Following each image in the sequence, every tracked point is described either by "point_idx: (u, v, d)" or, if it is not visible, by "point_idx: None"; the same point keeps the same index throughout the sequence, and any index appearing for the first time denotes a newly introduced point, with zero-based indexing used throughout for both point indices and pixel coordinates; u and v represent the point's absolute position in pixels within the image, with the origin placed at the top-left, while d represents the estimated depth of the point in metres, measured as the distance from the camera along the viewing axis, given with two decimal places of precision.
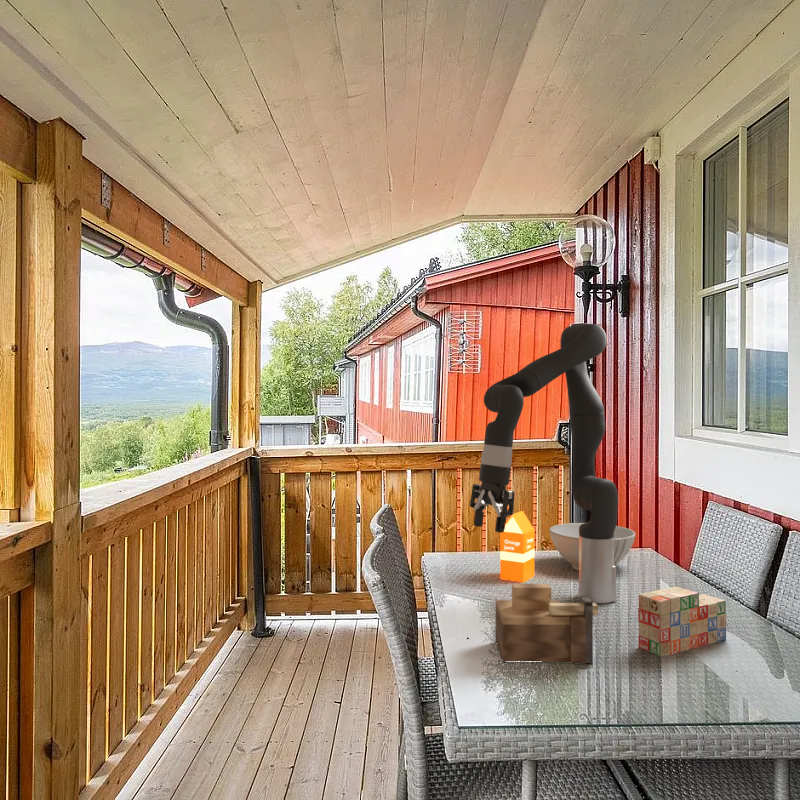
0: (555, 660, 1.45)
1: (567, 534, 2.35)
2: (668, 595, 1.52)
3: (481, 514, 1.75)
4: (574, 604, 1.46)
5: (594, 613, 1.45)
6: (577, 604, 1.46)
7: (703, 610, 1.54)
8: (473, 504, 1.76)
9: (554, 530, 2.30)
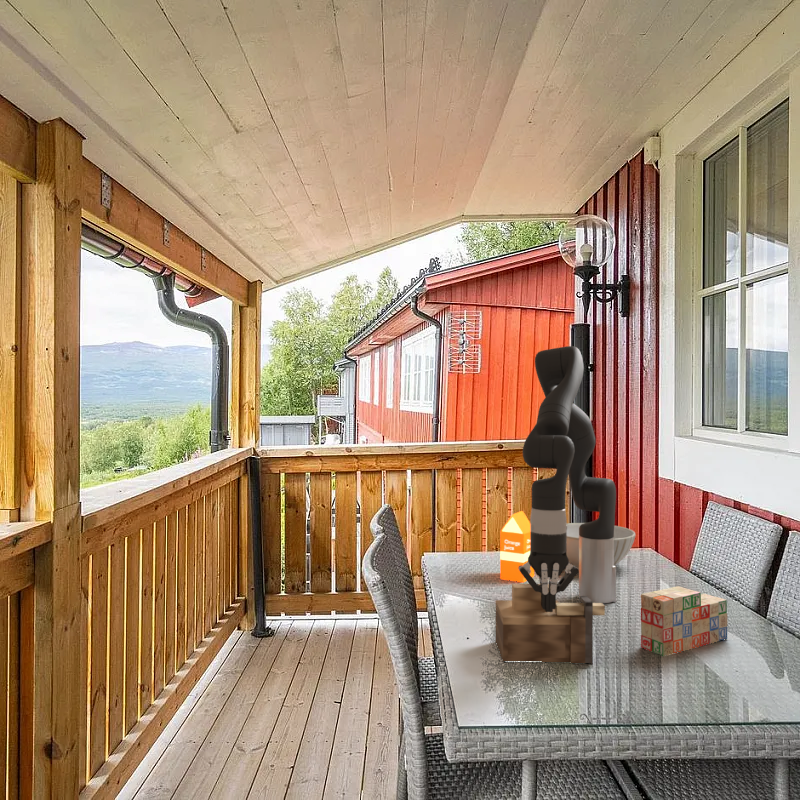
0: (555, 660, 1.45)
1: (567, 534, 2.35)
2: (670, 595, 1.52)
3: None
4: (581, 604, 1.46)
5: (601, 613, 1.45)
6: (583, 604, 1.46)
7: (705, 609, 1.55)
8: (539, 587, 1.45)
9: None
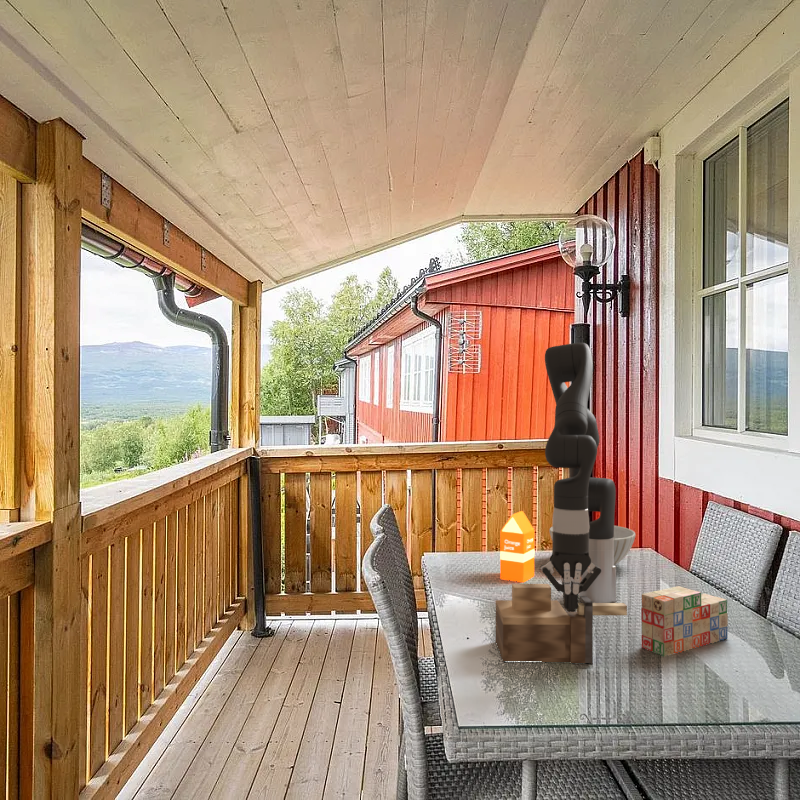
0: (555, 660, 1.45)
1: None
2: (671, 595, 1.52)
3: None
4: (603, 604, 1.46)
5: (623, 613, 1.45)
6: (605, 604, 1.46)
7: (705, 609, 1.55)
8: (561, 587, 1.45)
9: None
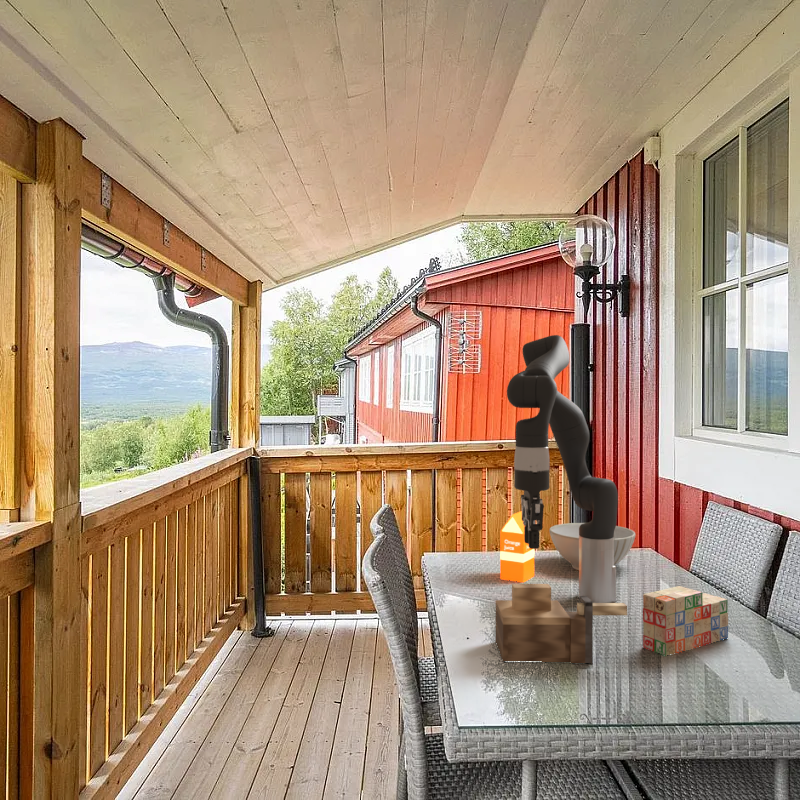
0: (555, 660, 1.45)
1: (567, 534, 2.35)
2: (672, 595, 1.52)
3: None
4: (603, 604, 1.46)
5: (623, 613, 1.45)
6: (605, 604, 1.46)
7: (706, 609, 1.55)
8: None
9: (554, 530, 2.30)
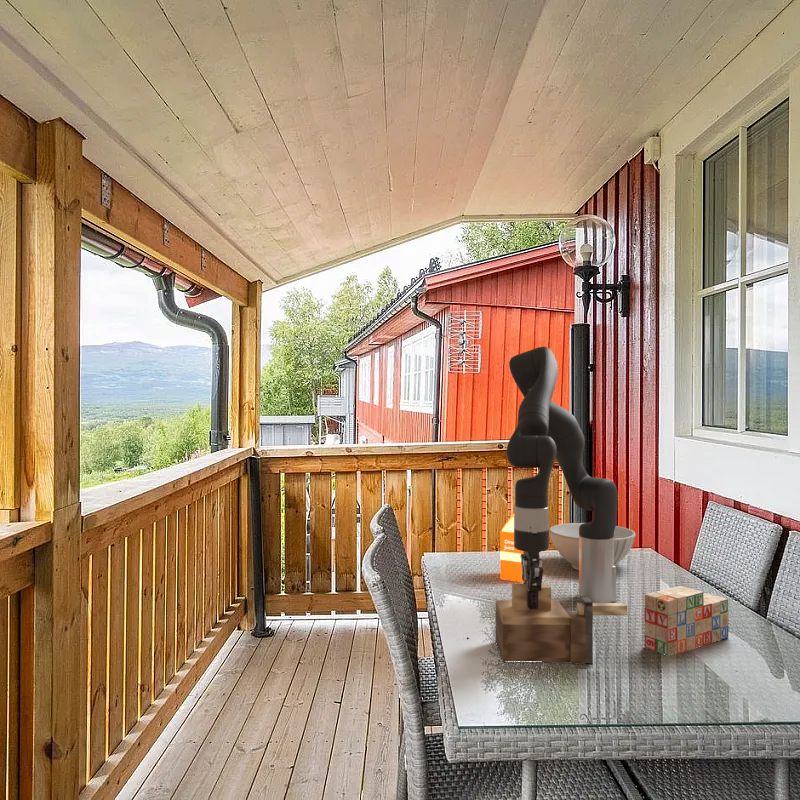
0: (555, 660, 1.45)
1: (567, 534, 2.35)
2: (674, 594, 1.52)
3: None
4: (603, 604, 1.46)
5: (623, 613, 1.45)
6: (605, 604, 1.46)
7: (707, 609, 1.55)
8: None
9: (554, 530, 2.30)
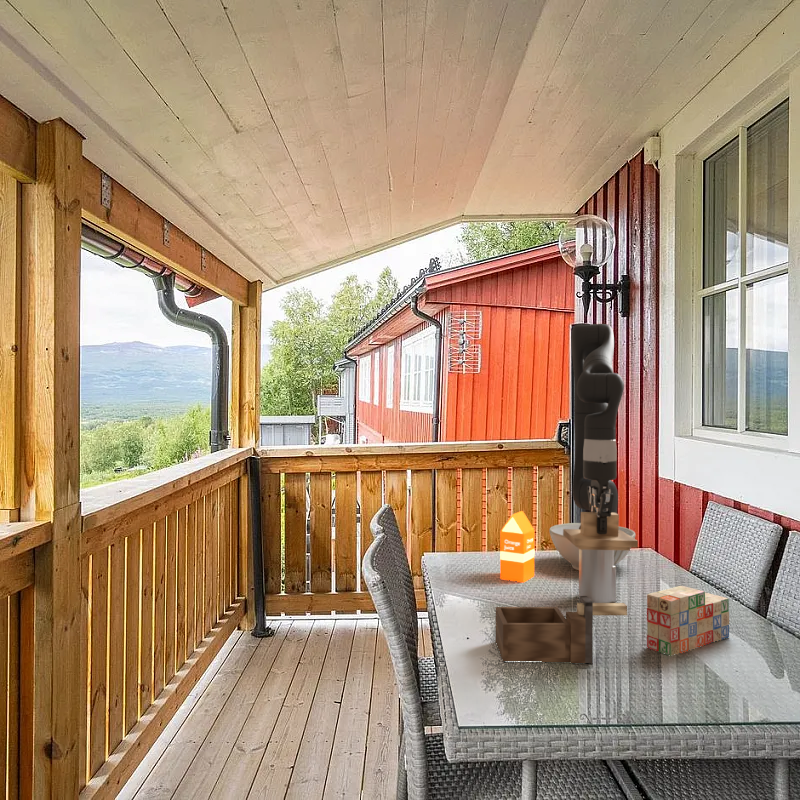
0: (555, 660, 1.45)
1: None
2: (676, 594, 1.52)
3: None
4: (603, 604, 1.46)
5: (623, 613, 1.45)
6: (605, 604, 1.46)
7: (709, 608, 1.56)
8: None
9: (554, 530, 2.30)
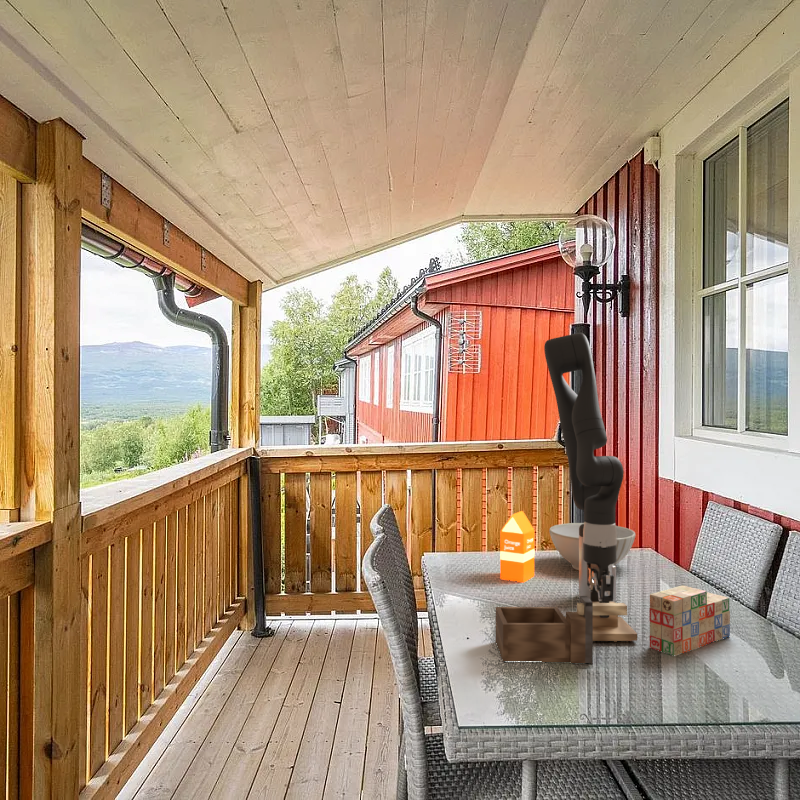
0: (555, 660, 1.45)
1: (567, 534, 2.35)
2: (678, 594, 1.52)
3: None
4: (603, 604, 1.46)
5: (623, 613, 1.45)
6: (605, 604, 1.46)
7: (710, 608, 1.56)
8: None
9: (554, 530, 2.30)
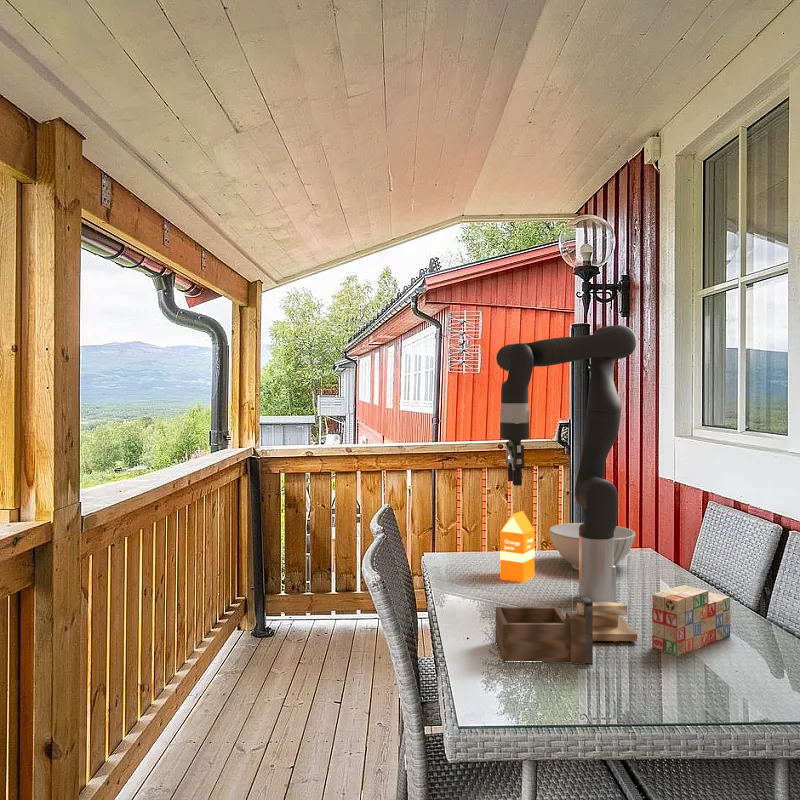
0: (555, 660, 1.45)
1: (567, 534, 2.35)
2: (681, 594, 1.52)
3: None
4: (603, 604, 1.46)
5: (623, 613, 1.45)
6: (605, 604, 1.46)
7: (712, 607, 1.56)
8: None
9: (554, 530, 2.30)
